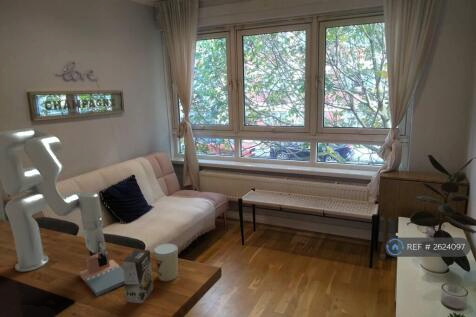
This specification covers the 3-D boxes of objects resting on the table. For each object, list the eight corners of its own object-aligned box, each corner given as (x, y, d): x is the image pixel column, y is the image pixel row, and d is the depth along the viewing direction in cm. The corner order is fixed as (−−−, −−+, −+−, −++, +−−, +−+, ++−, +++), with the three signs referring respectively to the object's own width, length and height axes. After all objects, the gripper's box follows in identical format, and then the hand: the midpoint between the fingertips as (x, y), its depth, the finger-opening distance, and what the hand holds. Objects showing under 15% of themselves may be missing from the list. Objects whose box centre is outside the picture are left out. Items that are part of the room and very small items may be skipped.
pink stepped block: (79, 275, 136) (76, 258, 134) (112, 262, 145) (110, 246, 143) (85, 282, 130) (82, 265, 129) (119, 268, 140) (117, 252, 138)
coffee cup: (154, 272, 136) (151, 246, 133) (176, 267, 139) (174, 241, 137) (158, 284, 128) (155, 256, 125) (182, 278, 131) (179, 250, 128)
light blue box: (85, 283, 130) (85, 279, 130) (120, 269, 139) (119, 265, 139) (96, 296, 121) (96, 292, 121) (132, 280, 131) (132, 276, 130)
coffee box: (142, 303, 116) (138, 262, 113) (126, 302, 118) (121, 261, 114) (154, 288, 125) (150, 249, 122) (138, 287, 126) (134, 248, 123)
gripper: (76, 220, 137) (82, 257, 141) (90, 232, 124) (97, 272, 128) (94, 215, 142) (100, 251, 146) (110, 225, 129) (116, 265, 133)
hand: (98, 261), depth 137 cm, fingers open, 9 cm apart
